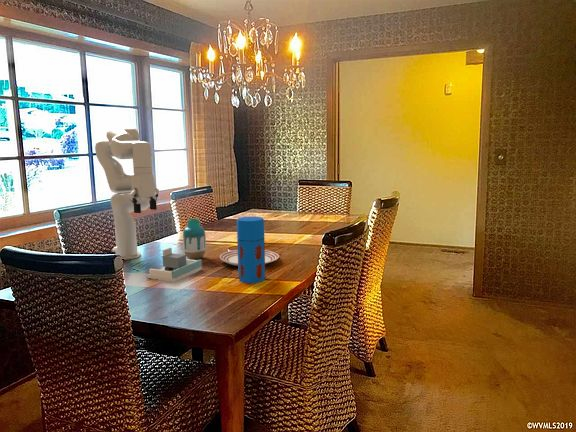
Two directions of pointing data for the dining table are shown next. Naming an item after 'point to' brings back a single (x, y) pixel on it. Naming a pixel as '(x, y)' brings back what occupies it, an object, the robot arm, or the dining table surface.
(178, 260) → the lidded gray box
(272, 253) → the dinner plate
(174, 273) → the loading dock
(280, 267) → the dining table surface
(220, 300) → the dining table surface
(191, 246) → the vase
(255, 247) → the thermos
